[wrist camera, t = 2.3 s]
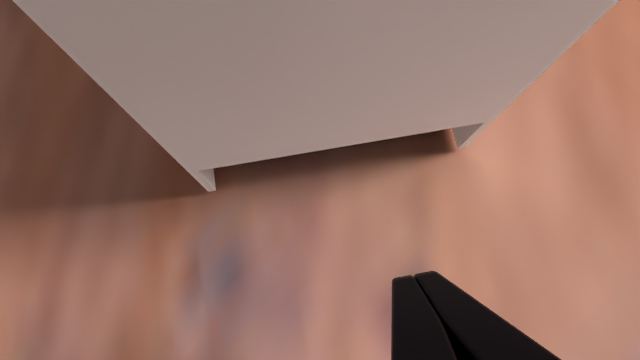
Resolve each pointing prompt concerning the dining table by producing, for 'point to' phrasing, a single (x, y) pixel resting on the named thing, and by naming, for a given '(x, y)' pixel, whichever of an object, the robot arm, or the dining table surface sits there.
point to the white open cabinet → (309, 67)
